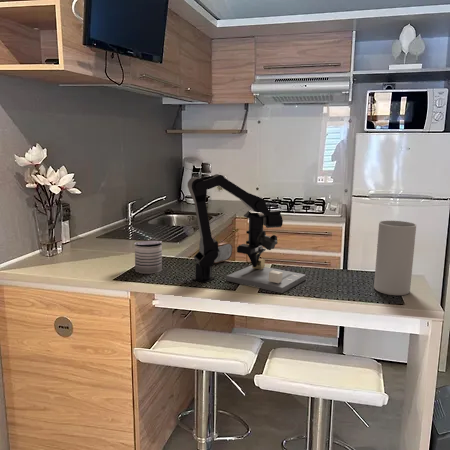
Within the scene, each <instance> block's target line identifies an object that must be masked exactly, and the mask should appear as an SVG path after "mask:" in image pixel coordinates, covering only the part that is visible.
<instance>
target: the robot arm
mask: <svg viewBox="0 0 450 450" xmlns="http://www.w3.org/2000/svg"><path fill="white" fill-rule="evenodd" d="M216 187H220V188H221V189H223V190H224V191H226V192H227V193H229V194H231V195H232V196H234V197H235V198H237V199H239V200H240V201H241V202H242V203H243V204H244V205H245V206H246V207H247V208H248V209H249V210H251V211H253V212H251V211H249V210H248V211H246V213H244V214H243V217H244V218H247V219H248V230H246V234H248V238H247V239H248V240H246V242H245V243H242V244H239V245H238V246H237V247H236V253H237V254H243V255H247V256H248V258H249V260H250V262H251V265H253V267H256V266H257V263H258V260H259V259H261V255H262V253H263V252H265V251H266V250H268V251H271V250H273V249H275V247H276V245H278V236H277V235H276V234H272V235H271V236H270V235H266V234H267V232H266V230H264V226H265V228H267V229H271V228H272V229H273V228H277V229H278V228H282V226H283V223H284V220H283V216H282V213H281V210H279V209H277V210H269V208H268V207H267V203H266V202H267V201H266V200H265V199H264V198H262V197H261V196H257V195H255V194H252V193H250V192H248V191H246V190H244V189H243V188H241V187H240V186H238V185H237V184H235V183H234V182H232V181H230V180H229V179H227V178H226V177H224V175H222V174H220V173H218V174H214V175H209V176H203V177H197V176H192V177H191V178H190V179H189V180H188V181H187V188H188V192H189V194H190V196H191V198H192V200H193V203H194V207H195V213H196V214H195V215H196V220H197V225H198V231H199V237H200V238H199V239H200V240H199V243H198V244H199V248H198V250H199V251H198V252H197V253H196V254H194V256H193V259H194V261H195V262H196V264H195V265H194V266H195V271H194V273H195V274H194V275H195V276H194V277H193V278H191V279H192V281H197V282H201V283H207V282H210V281H212V280H215V278H216V277H214V276H213V275H212V273H213V266H214V264H215V263H214V261H215V260H216V259H217V257H218V252H220V251H219V249H218V243H219V242H218V241H217V240H216V239H215V238H213V237H212V236H213V235H212V232H211V224H210V219H209V215H208V214H209V212H208V207H207V203H206V201H207V200H206V199H207V193H208V190H210V189H213V188H216ZM259 213H260V214H259Z"/></svg>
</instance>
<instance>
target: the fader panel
mask: <svg viewBox="0 0 450 450" xmlns="http://www.w3.org/2000/svg"><path fill="white" fill-rule="evenodd" d="M272 270H274V271H279V272H283V273H282V282H280V283H274V282H270V281H269V272H270V271H272ZM306 278H307V274H304V273H300V272H299V273H298V272H294V271H288V270H283V269H277V268H272V267H268V266H265V267H264V268H263V269H261V270H260V269H255V268H252V264H251V265H249V266H246V267H244V268H242V269H239V270H236V271H234V272H232V273H230V274H226V281H227V282H231V283H234V284H235V283H236V284H239V285H243V286H249V287H253V288H256V289H257V288H258V289H262V290H265V291H272V292H276V293H280V294H283V293H285V292H287V291H289V290H290V289H292V288H294V287H295V286H297V285H299V284H301V283H303V282H305V281H306V280H307V279H306Z"/></svg>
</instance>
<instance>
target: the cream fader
mask: <svg viewBox="0 0 450 450" xmlns="http://www.w3.org/2000/svg"><path fill="white" fill-rule="evenodd" d="M282 273H283V272H279V271H274V270H272V271H270V272H269V281H270V282H274V283H280V282H282Z"/></svg>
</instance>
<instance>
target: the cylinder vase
mask: <svg viewBox="0 0 450 450" xmlns="http://www.w3.org/2000/svg"><path fill="white" fill-rule="evenodd" d="M377 231H378V232H377V244H376V254H375V255H376V257H375V258H376V259H375V271H374V281H373V282H374V283H373V288H374V289H375V291H376V292H378V293H380V294H384V295H389V296H405V295H408V294H409V293H411V285H412V284H411V283H412V275H413V265H414V253H415V245H416V244H415V243H416V232H417V224H416V223H414V222H409V221H402V220H381V221H379V222H378V230H377Z"/></svg>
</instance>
